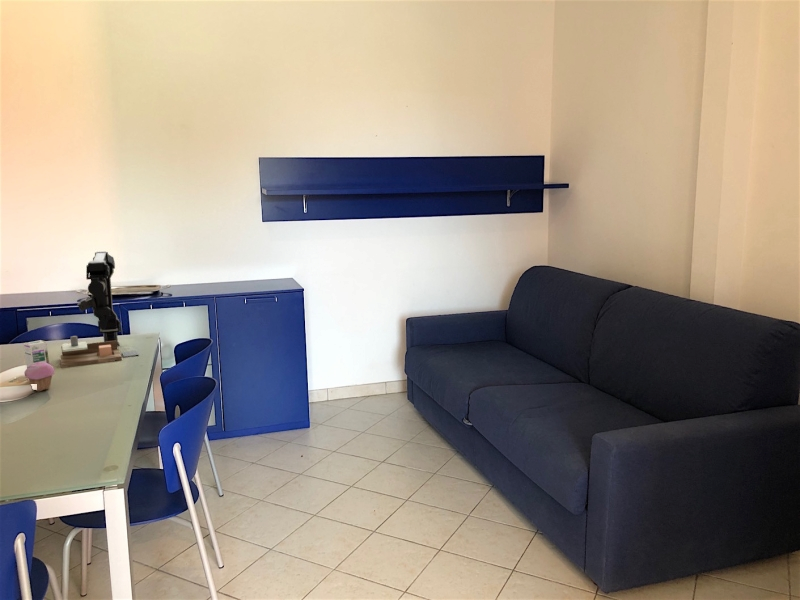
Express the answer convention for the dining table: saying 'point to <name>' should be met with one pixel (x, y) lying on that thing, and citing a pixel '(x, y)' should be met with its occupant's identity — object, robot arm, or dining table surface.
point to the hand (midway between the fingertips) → (103, 328)
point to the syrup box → (36, 352)
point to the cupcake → (40, 375)
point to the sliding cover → (74, 345)
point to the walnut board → (90, 355)
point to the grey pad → (130, 353)
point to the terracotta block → (105, 350)
